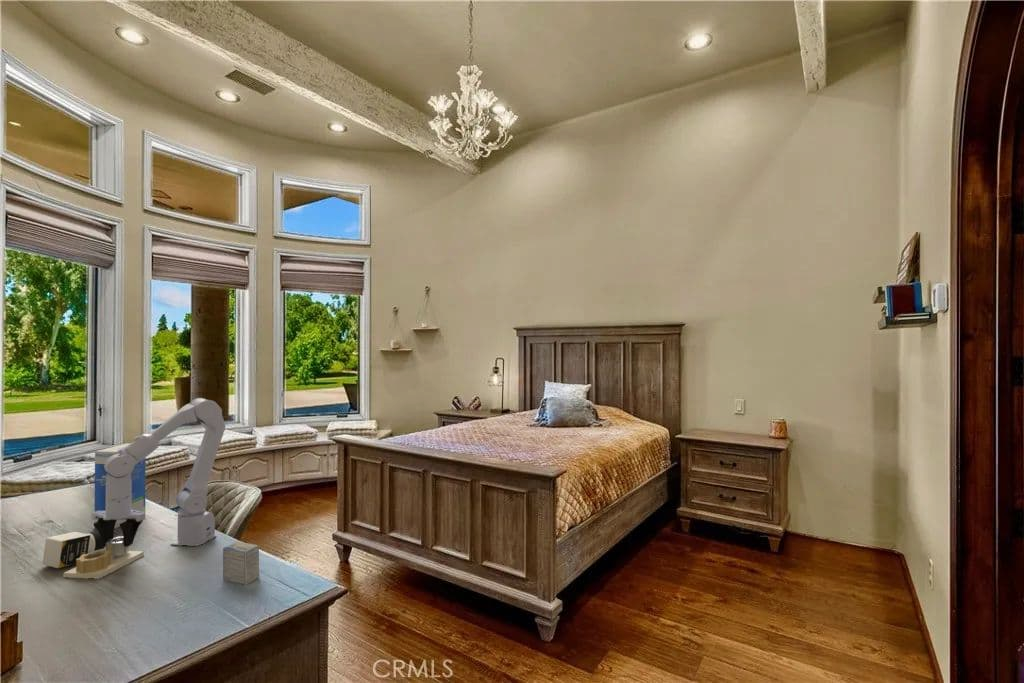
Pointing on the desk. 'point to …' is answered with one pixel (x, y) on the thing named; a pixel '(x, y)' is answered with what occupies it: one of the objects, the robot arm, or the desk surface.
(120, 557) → the gear board
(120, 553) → the steel gear
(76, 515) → the desk surface
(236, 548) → the beige wooden block
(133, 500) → the string lights box
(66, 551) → the medicine bottle
